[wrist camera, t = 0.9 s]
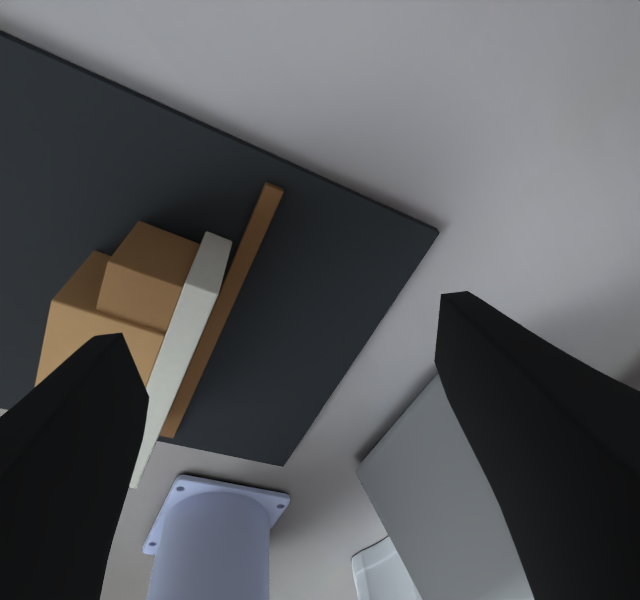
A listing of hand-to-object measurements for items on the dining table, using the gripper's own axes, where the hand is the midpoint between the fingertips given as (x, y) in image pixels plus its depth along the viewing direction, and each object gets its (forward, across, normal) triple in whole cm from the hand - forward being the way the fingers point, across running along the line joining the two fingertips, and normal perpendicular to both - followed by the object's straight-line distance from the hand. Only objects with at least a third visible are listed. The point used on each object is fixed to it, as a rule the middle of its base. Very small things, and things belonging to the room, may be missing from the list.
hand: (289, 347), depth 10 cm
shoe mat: (+10, +7, +5) cm, 13 cm away
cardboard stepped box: (+10, +8, +6) cm, 13 cm away
